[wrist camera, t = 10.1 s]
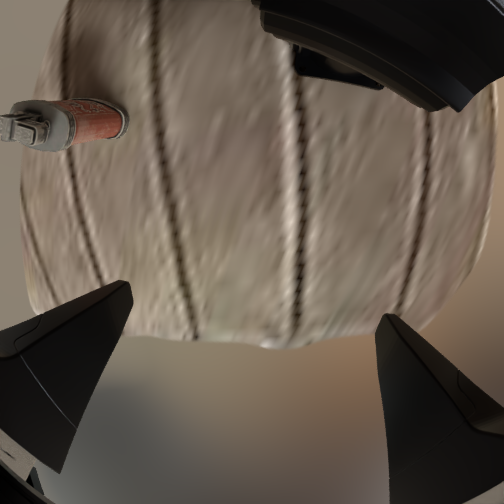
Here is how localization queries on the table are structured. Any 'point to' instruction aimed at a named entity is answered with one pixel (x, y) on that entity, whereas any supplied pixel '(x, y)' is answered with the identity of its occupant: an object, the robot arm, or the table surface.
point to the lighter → (62, 123)
